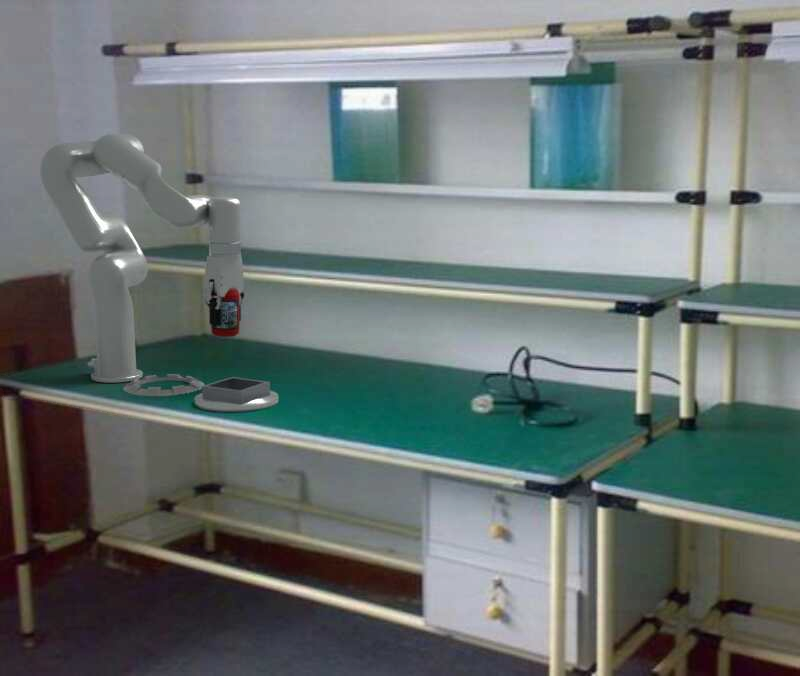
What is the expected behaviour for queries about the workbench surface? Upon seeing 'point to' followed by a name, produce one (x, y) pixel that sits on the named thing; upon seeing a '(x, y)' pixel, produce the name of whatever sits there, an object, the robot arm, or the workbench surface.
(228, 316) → the beverage can
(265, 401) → the rosette plate
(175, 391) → the ring
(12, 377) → the workbench surface
